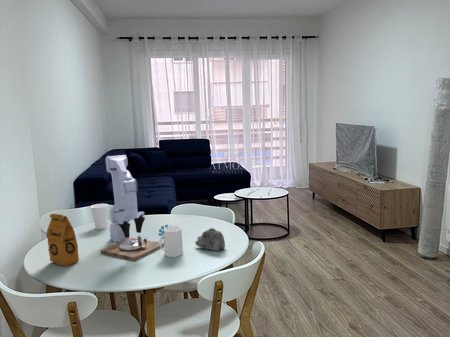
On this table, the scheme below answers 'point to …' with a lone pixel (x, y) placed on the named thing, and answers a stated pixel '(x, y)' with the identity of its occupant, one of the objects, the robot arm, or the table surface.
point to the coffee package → (62, 241)
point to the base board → (134, 254)
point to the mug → (172, 241)
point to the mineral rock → (211, 240)
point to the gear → (162, 231)
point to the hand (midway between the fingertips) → (133, 234)
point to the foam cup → (100, 215)
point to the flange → (133, 245)
